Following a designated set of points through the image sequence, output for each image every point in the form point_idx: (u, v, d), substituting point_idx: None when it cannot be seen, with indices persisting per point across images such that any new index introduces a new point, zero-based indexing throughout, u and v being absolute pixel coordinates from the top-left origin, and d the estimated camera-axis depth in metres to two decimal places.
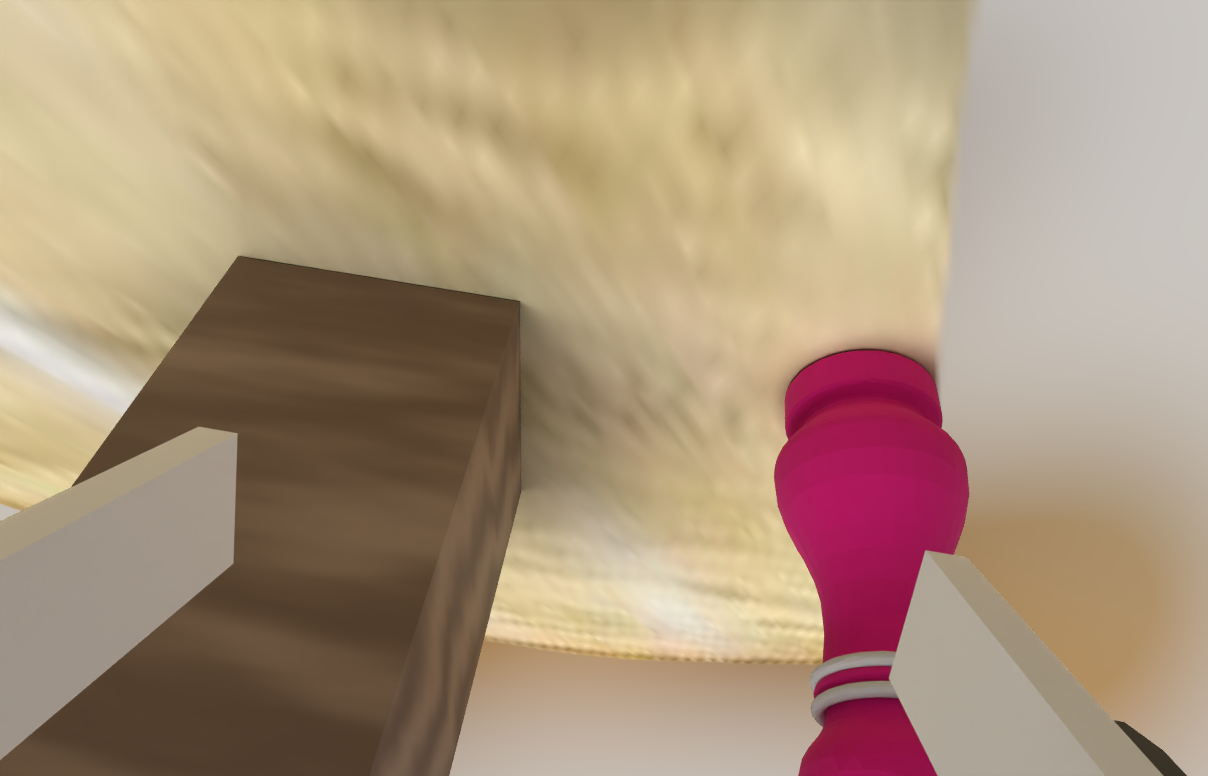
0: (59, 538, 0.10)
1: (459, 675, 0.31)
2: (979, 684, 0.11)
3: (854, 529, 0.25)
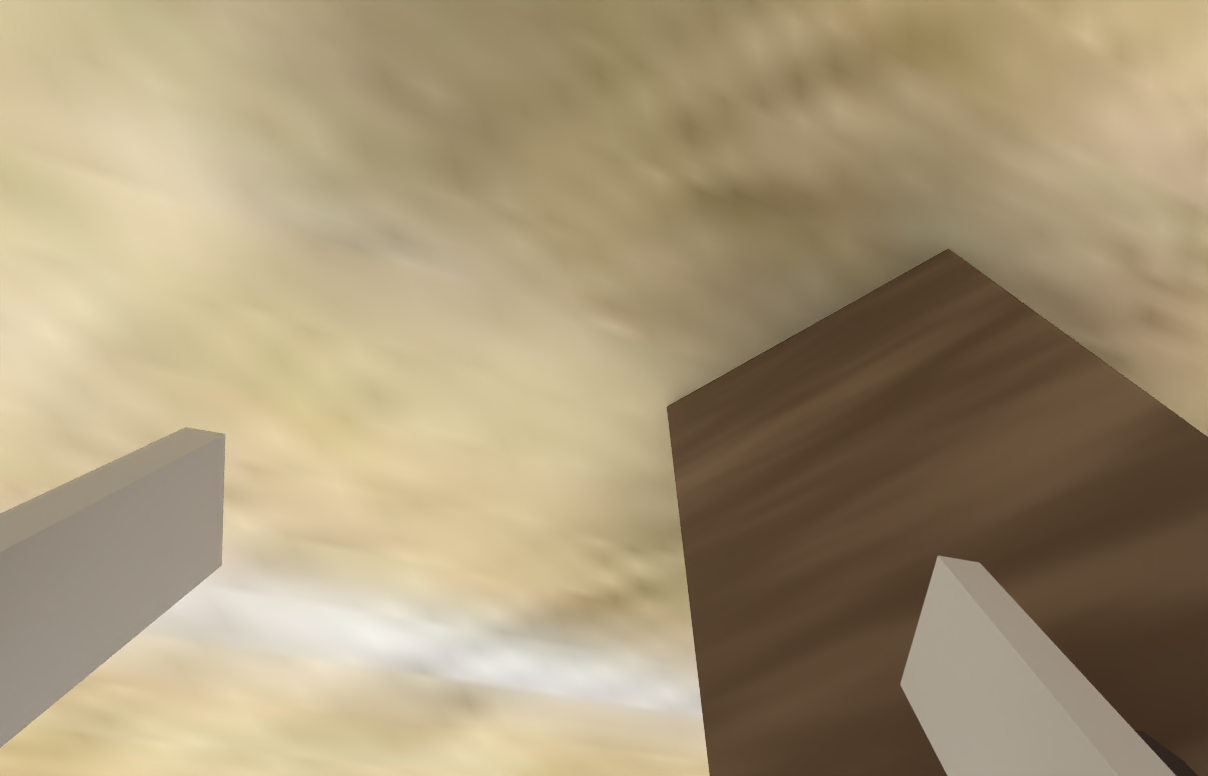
0: (39, 541, 0.09)
1: None
2: (994, 693, 0.11)
3: None
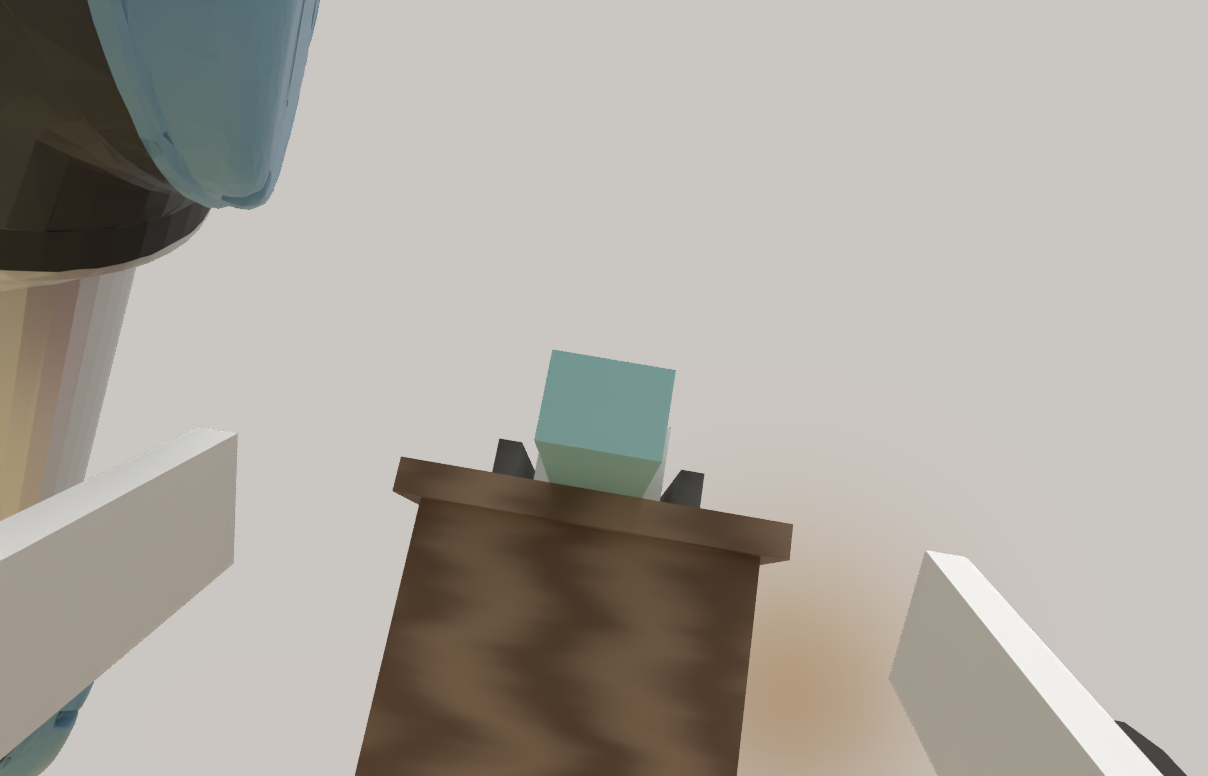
0: (59, 538, 0.10)
1: None
2: (979, 684, 0.11)
3: None
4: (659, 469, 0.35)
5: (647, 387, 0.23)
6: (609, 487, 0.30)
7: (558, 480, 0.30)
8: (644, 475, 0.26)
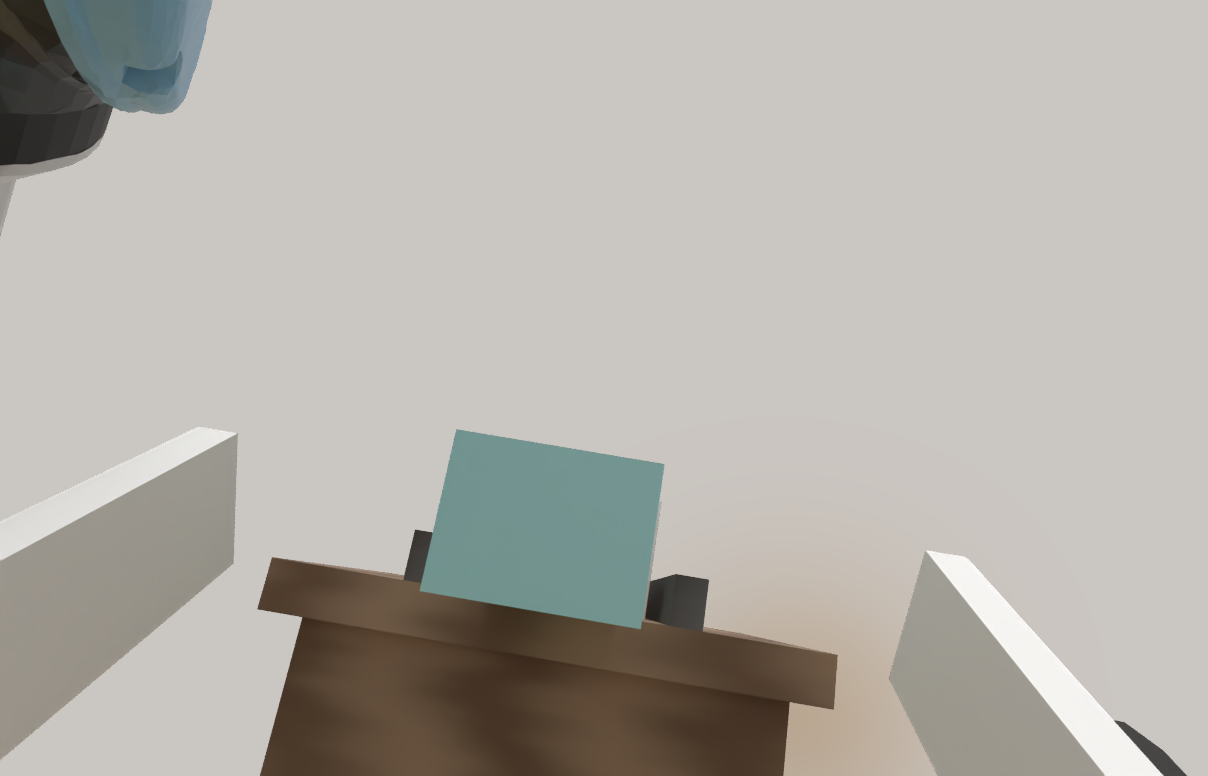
0: (59, 538, 0.10)
1: None
2: (979, 685, 0.11)
3: None
4: None
5: (616, 494, 0.14)
6: None
7: None
8: None
